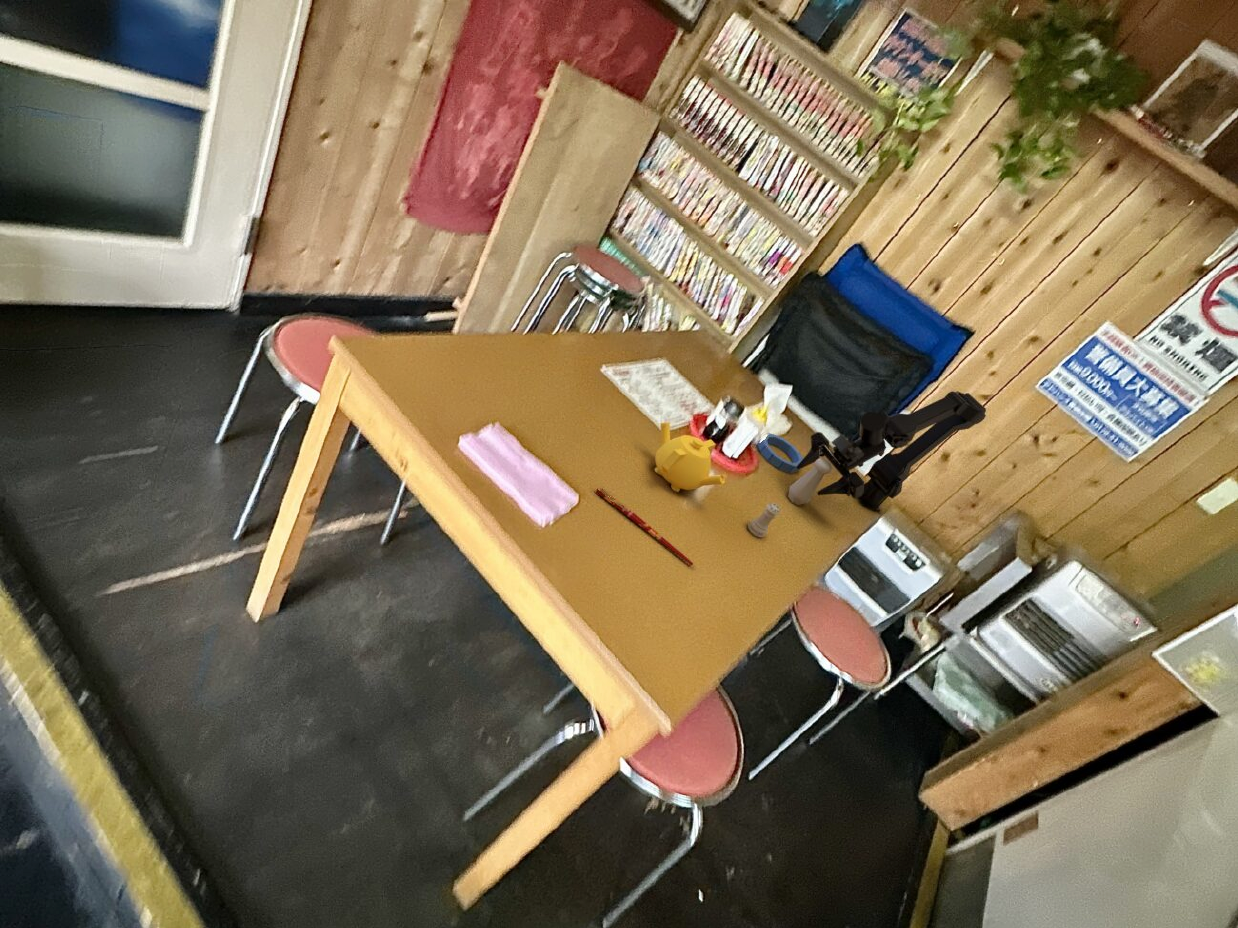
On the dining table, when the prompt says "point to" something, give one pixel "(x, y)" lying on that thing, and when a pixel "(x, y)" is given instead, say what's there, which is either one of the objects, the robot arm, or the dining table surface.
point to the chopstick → (644, 526)
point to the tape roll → (776, 459)
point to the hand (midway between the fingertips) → (807, 480)
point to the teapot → (685, 461)
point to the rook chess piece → (763, 520)
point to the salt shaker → (809, 482)
